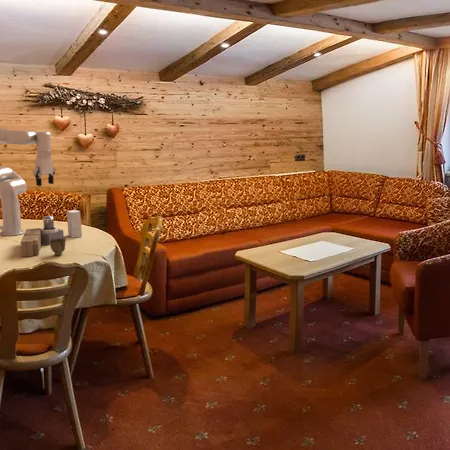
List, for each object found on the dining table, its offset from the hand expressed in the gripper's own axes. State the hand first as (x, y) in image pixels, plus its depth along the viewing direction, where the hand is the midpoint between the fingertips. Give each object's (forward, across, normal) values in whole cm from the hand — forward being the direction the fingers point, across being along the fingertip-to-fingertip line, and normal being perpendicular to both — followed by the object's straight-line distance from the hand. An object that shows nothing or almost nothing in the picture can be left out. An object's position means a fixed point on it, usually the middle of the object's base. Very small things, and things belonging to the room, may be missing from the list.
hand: (45, 184), depth 285 cm
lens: (+24, +11, +11) cm, 28 cm away
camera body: (+30, +11, +12) cm, 34 cm away
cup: (+30, +31, +34) cm, 55 cm away
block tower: (+30, +28, +15) cm, 44 cm away
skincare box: (+30, -7, +14) cm, 34 cm away
